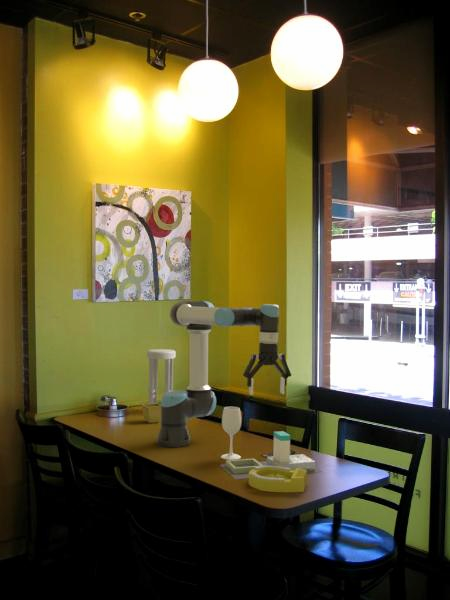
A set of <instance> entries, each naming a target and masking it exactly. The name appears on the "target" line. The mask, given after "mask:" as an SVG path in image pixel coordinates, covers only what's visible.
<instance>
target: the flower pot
mask: <svg viewBox="0 0 450 600" xmlns="http://www.w3.org/2000/svg"><path fill="white" fill-rule="evenodd" d="M141 406H142V407H141V409H142V414H143V419H144V420H145V422H147V423H148V424H154V423H156V422H157V423H159V422H161V403H158V402H157V403H154V404H148V403H145V404H141ZM157 423H156V424H157Z"/></svg>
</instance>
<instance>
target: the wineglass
mask: <svg viewBox="0 0 450 600" xmlns="http://www.w3.org/2000/svg"><path fill="white" fill-rule="evenodd" d="M221 415H222V416H221V425H222V426H221V427H222V429H223V430H224V432H226V433H227V434H228V435H229V453H225V454H222V455H221V456H220V458H221V459H224V460H240V459H241V458H242V456H241V455H239V454H237V453H234V452H233V438H234V435H235V434H237V433H238V432H239V431H240V429H241V427H242V412H241V409H240V407H238V406H224V408H223V411H222V414H221Z"/></svg>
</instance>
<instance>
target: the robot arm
mask: <svg viewBox="0 0 450 600" xmlns="http://www.w3.org/2000/svg"><path fill="white" fill-rule="evenodd" d="M279 317H280V307H279V305H278V304H275V303H274V304H272V303H271V304H270V303H262V304H261V305H260V308H258V307H253V306H246V307H217V306H216V307H215V305H213V303H211V302H210V301H208V300H207V301H205V300H193V301H192V300H191V301H190V300H189V301H188V300H187V301H185V300H183V301H178V302H176V303H175V304H174V305H172V306H171V308H170V312H169V318H170V320H171V321H172V323H173V324H175V326H178V327H186V330H187V332H188V333H189V384H188V386H186V390H183V389H177V390H173V391H169V392H166V393H165V394H164V393H163V394H162V396H161V401H160V405H161V419H160V428H159V432H158V435H157V437H156V445H158V446H160V447H166V448H182V447H187V446H188V444H189V445H190V444H191V437H190V434H189V430H188V427H187V424H188V423H187V422H188V421H187V420H188V419H194V418H204V417H207V416H210V415H212V413H213V412H214V411H215V409H216V407H217V397H216V394H215V392H214V391H212V387H211V386H210V385H209V333H210V332H211V331H212V326H217V327H222V328H228V327H247V326H249V327H259V339H258V340H259V341H260V342H259V344H258V354H255V353H252V354H251V356H250V360H249V362H248V364H247V365H246V368H245V370H244V372H243V374H242V377H244V378H246V379H247V380H246V381H247V383H246V385H247V387H248V393H249V394H248V395H250V396H254V382H255V380H254V378H253V377H254V376H255V375H256V373H257V372H258V371H259V370H260V369H261V368H262V367H263V366H274V367H275V369H276V370H277V371H278V372H279V374H280V375H281V376H282V377H280V382H279V383H280V385H279V386H280V387H279V393H280V394H281V395H285V387H286V386H287V384H288V383H287V381H288V378H289V377H292V373H291V370H290V369H289V366H288V364H287V361H286V357H285V354H284V353H279V354H278V351H279V346H278V345H279V344H278V342H279V324H280V320H279V319H280V318H279ZM278 359H279V360H280V363H281V365H282V367H281V365H279V363H278V362H277V360H278ZM256 360H258V362H257V363H256ZM255 363H256V365H255ZM254 365H255V366H254ZM282 368H283V369H282ZM181 446H182V447H181Z"/></svg>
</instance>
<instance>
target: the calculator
mask: <svg viewBox="0 0 450 600" xmlns="http://www.w3.org/2000/svg"><path fill="white" fill-rule="evenodd" d="M290 455H296V451H294V450H291V449H290ZM260 456H261V457H263V458H265V459H267V457H271V456H273V452H270V453H265V454H261V455H260Z"/></svg>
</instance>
